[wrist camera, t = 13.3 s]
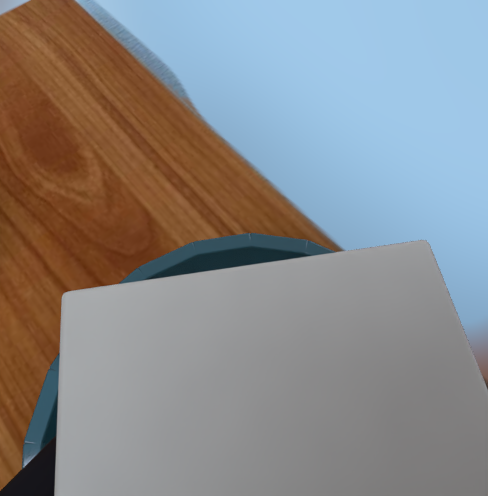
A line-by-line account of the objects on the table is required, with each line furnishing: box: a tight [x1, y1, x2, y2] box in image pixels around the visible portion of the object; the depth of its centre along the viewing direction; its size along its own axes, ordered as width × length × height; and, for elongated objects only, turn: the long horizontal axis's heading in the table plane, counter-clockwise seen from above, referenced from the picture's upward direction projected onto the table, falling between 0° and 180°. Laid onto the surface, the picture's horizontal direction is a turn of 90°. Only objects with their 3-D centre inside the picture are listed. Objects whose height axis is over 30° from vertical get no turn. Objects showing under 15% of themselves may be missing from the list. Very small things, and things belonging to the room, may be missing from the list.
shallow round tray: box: [22, 233, 336, 469], centre depth 14 cm, size 14×14×4 cm
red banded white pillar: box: [54, 240, 488, 496], centre depth 9 cm, size 5×5×12 cm
